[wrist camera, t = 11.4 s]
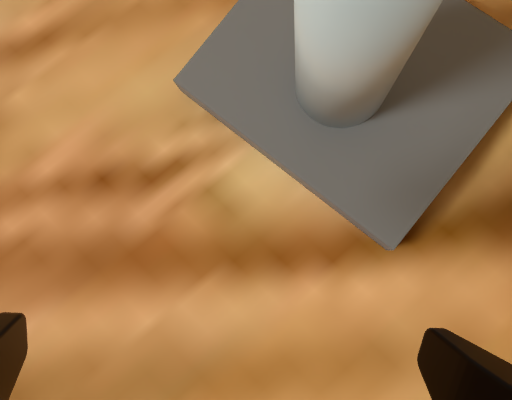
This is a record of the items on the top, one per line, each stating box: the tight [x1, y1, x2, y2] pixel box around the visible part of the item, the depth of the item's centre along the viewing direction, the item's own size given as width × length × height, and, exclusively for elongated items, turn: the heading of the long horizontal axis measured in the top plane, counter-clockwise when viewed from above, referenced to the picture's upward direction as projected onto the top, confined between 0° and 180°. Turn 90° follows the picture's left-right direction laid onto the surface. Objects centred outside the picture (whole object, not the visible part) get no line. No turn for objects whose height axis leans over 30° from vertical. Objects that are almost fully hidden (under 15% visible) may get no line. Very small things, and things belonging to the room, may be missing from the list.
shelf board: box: [173, 0, 512, 250], centre depth 21 cm, size 14×12×2 cm
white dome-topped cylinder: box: [294, 0, 443, 128], centre depth 15 cm, size 4×4×10 cm
